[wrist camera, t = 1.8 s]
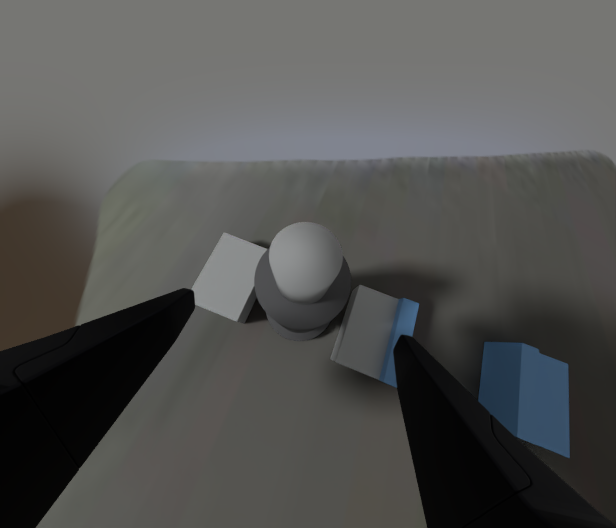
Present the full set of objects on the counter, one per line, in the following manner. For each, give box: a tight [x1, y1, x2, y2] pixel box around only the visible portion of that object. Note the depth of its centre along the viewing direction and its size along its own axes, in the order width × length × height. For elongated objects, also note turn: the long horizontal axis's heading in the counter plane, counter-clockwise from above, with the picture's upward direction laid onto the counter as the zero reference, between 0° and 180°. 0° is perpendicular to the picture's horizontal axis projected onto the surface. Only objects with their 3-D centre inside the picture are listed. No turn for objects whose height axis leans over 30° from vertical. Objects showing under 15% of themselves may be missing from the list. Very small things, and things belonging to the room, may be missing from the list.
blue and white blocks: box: [191, 233, 570, 458], centre depth 17 cm, size 28×6×3 cm, turn 69°
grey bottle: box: [254, 222, 351, 341], centre depth 13 cm, size 6×6×12 cm
